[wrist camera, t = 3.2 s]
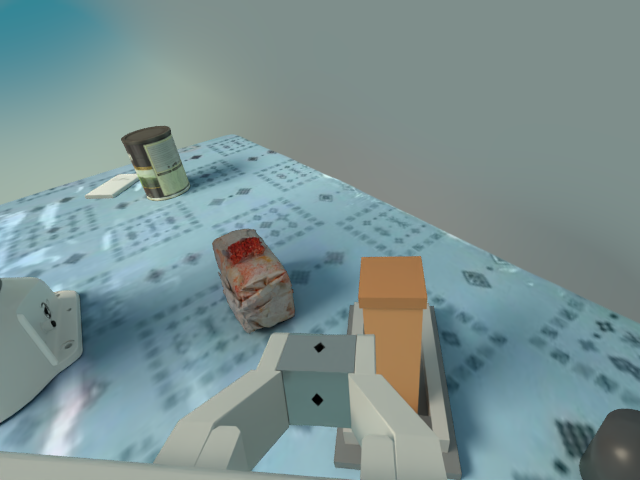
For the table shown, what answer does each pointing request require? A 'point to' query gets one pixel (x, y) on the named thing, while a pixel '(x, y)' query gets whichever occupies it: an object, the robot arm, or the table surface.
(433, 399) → the grey flat rectangular frame
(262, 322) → the food item
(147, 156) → the coffee can
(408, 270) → the lever
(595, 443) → the dark grey handled piece
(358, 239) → the table surface
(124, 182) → the external hard drive
